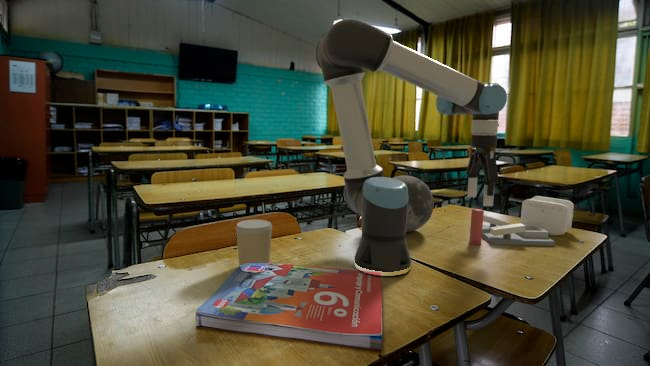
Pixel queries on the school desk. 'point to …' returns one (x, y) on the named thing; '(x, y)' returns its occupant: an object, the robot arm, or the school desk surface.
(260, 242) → the coffee cup
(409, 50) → the robot arm
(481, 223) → the red capsule
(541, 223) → the cable organizer
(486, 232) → the panel
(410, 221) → the moon model
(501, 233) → the block
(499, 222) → the block
